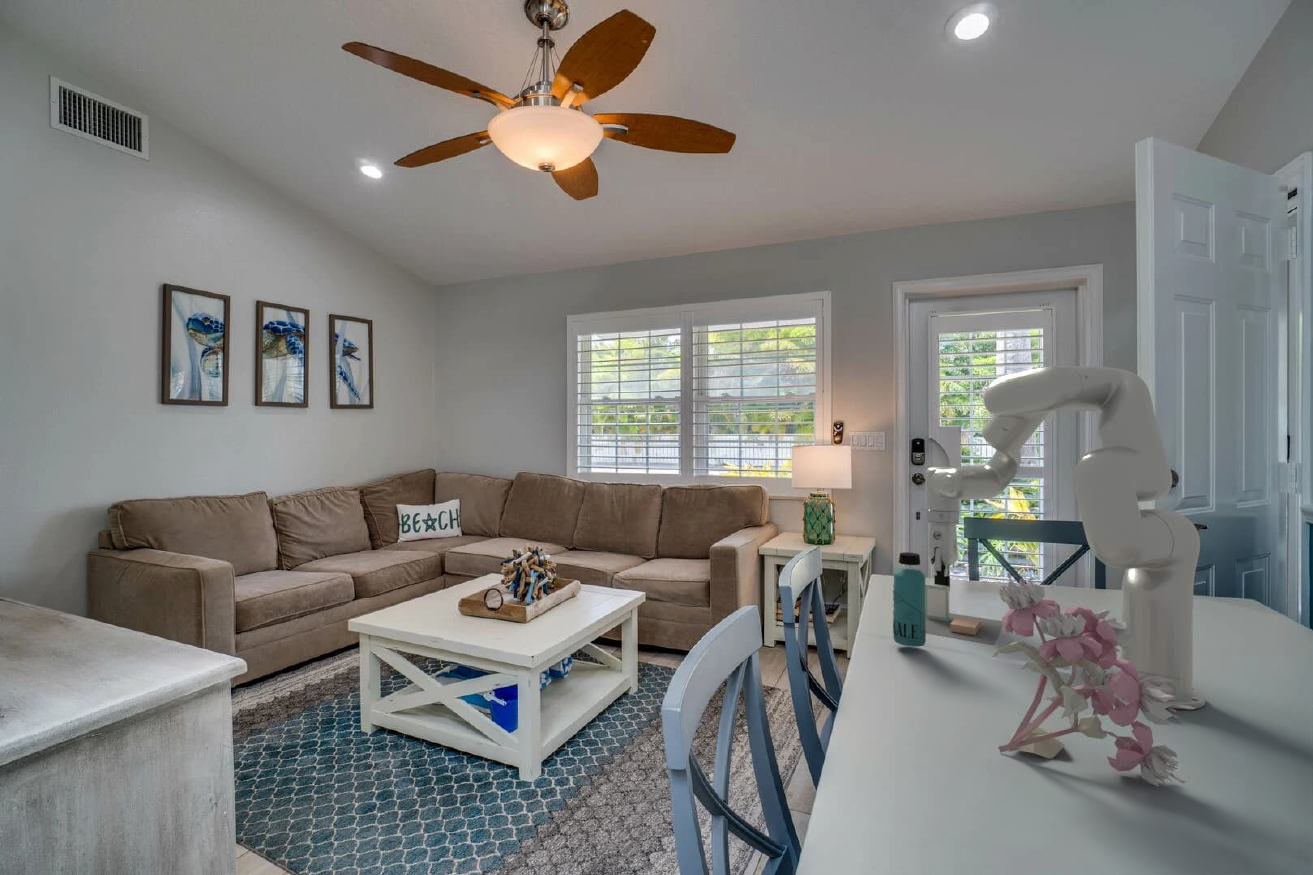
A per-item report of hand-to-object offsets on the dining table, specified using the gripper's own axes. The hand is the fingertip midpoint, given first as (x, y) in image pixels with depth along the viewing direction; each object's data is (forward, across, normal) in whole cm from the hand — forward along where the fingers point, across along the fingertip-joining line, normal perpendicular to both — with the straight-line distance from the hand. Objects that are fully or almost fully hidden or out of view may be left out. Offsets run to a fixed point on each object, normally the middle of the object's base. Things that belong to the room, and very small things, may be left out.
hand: (942, 591), depth 152 cm
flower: (+6, -62, -32) cm, 70 cm away
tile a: (+4, -6, -7) cm, 10 cm away
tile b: (+5, -5, 0) cm, 8 cm away
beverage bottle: (+6, -29, 0) cm, 30 cm away
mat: (+6, -8, -4) cm, 11 cm away
